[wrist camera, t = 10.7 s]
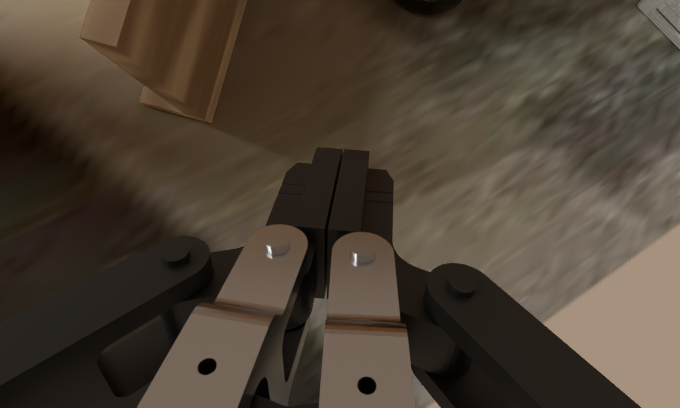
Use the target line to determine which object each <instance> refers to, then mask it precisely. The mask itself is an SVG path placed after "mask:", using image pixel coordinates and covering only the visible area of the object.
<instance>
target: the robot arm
mask: <svg viewBox="0 0 680 408" xmlns="http://www.w3.org/2000/svg"><path fill="white" fill-rule="evenodd" d="M368 163H369V151H359V150H347V149H344V152H343V150H342V149H333V148H320V147H317V149H316V152H315V155H314V158H313V161H312V164H306V163H297V164H296V165H294V166H293V167H292V168H291V169H290V170H289V171H287V172H286V175H285V178H284V180H283V183H282V186H281V188H280V190H279V195H278V196H277V198H276V201H275V203H274V206H273V208H272V211H271V214H270V216H269V219H268V221H267V224H266V227H263V228H261V229H259V230H257V231H256V232H254V233H253V234H252V235H251V236H250V237H249V239H248V240H247V242H246V244H245V246H243V247H240V248H237V249H232V250H225V251H218V252H211V253H210V251H209V248H208V246H207V244H206V243H205V242H203V241H202V240H200V239H198V238H194V237H189V236H181V237H174V238H170V239H167V240H165V241H162V242H160V243H158V244H156V245H154V246H152V247H150V248H148V249H146V250H144V251H142V252H140V253H138V254H136V255H134V256H132V257H130V258H128V259H126V260H124V261H122V262H120V263H118V264H116V265H114V266H112V267H110V268H108V269H106V270H104V271H102V272H100V273H98V274H96V275H94V276H92V277H90V278H88V279H86V280H84V281H82V282H80V283H78V284H76V285H74V286H72V287H70V288H68V289H66V290H64V291H62V292H60V293H58V294H56V295H54V296H52V297H50V298H48V299H46V300H44V301H42V302H40V303H38V304H36V305H34V306H32V307H30V308H28V309H26V310H24V311H22V312H20V313H18V314H16V315H14V316H12V317H10V318H8V319H6V320H4V321H2V322H0V408H415V399H414V390H413V381H412V371H413V373H414V374H415V376H416V377H417V379H418V380H419V381H420V382H421V384H422V385H423V386H424V387H425V389H426V390H427V391H428V392H429V394H430V395H431V396H432V397H433V398H434V400H435V401H436V402H437V403H438V405H439V406H440V407H441V408H641V407H640V406H639V405H638V404H636V403H635V402H634V401H633V400H632V399H630V398H629V397H628V396H627V395H626V394H625V393H623V392H622V391H621V390H620V389H619V388H617V387H616V386H615V385H614V384H613V383H611V382H610V381H609V380H608V379H607V378H606V377H605V376H603V375H602V374H601V373H600V372H599V371H597V370H596V369H595V368H594V367H593V366H592V365H590V364H589V363H588V362H587V361H586V360H585V359H583V358H582V357H581V356H580V355H579V354H577V353H576V352H575V351H574V350H573V349H571V348H570V347H569V346H568V345H567V344H566V343H564V342H563V341H562V340H561V339H560V338H559V337H557V336H556V335H555V334H554V333H553V332H552V331H550V330H549V329H548V328H547V327H546V326H544V325H543V324H542V323H541V322H540V321H539V320H537V319H536V318H535V317H534V316H533V315H532V314H530V313H529V312H528V311H527V310H526V309H524V308H523V307H522V306H521V305H520V304H519V303H517V302H516V301H515V300H514V299H513V298H511V297H510V296H509V295H508V294H507V293H506V292H504V291H503V290H502V289H501V288H500V287H499V286H497V285H496V284H495V283H494V282H493V281H491V280H490V279H489V278H488V277H487V276H486V275H484V274H483V273H482V272H480V271H479V270H477V269H475V268H473V267H470V266H467V265H464V264H458V263H449V264H443V265H440V266H438V267H436V268H435V269H433V270H432V271H431V272H428V271H425V270H422V269H420V268H417V267H414V266H412V265H410V264H409V263H407V262H405V261H404V260H403V259H402V258H401V257H399V255H398V254H397V253H396V251H395V249H394V247H393V243H392V229H393V180H392V178H391V176H390V175H389V173H388V172H387V170H380V169H368ZM326 286H327V299H328V311H327V319H326V323H325V334H324V347H323V360H322V373H321V386H320V399H319V403H315V404H308V405H301V406H292V407H289V406H288V398H289V393H290V389H291V385H292V382H293V378H294V375H295V372H296V368H297V365H298V362H299V358H300V355H301V351H302V348H303V345H304V341H305V338H306V335H307V331H308V328H309V324H310V314H311V311H312V307H313V302H314V298H323V299H324V297H325V291H326ZM158 315H160V316H161V319H160V320H159V321H157V322H156V323H154V324H152V325H151V326H149V327H147V328H146V329H144V330H142V331H141V332H139V333H138V334H136V335H134V336H133V337H131V338H129V339H128V340H126V341H124V342H123V343H121V344H120V345H118V346H116V347H115V348H113V349H111V350H110V351H108V352H106V353H104V354H101V352H102V351H103V350H104V349H105V348H106V347H107V346H109V345H110V344H112V343H113V342H115V341H117V340H118V339H120V338H122V337H123V336H125V335H127V334H128V333H130V332H132V331H133V330H135V329H137V328H138V327H140V326H142V325H143V324H145V323H146V322H148V321H150V320H151V319H153V318H155V317H156V316H158ZM100 354H101V355H100ZM411 368H412V371H411Z"/></svg>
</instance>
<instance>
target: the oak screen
mask: <svg viewBox="0 0 680 408" xmlns="http://www.w3.org/2000/svg"><path fill="white" fill-rule="evenodd" d="M246 3H247V0H91V1H90V4H89V8H88V11H87V14H86V17H85V21H84V24H83V27H82V30H81V33H80V38H81V39H83V40H84V41H85V42H87V43H88V44H89V45H91V46H92V47H94V48H95V49H96V50H98V51H99V52H100V53H102V54H103V55H104V56H106V57H107V58H108V59H110V60H111V61H113V62H114V63H115V64H117V65H118V66H119V67H121V68H122V69H123V70H125V71H126V72H127V73H129V74H130V75H132V76H133V77H134V78H136V79H137V80H138V81H140V82H141V83H142V84H144V86H143V90H142V93H141V96H140V100H139V102H140V103H142V104H143V105H145V106H148V107H152V108H156V109H160V110H163V111H167V112H171V113H175V114H178V115H182V116H186V117H190V118H193V119H197V120H201V121H204V122H208V123H212V121H213V118H214V114H215V111H216V107H217V104H218V100H219V97H220V93H221V90H222V86H223V83H224V80H225V76H226V73H227V69H228V66H229V62H230V59H231V55H232V52H233V48H234V45H235V41H236V38H237V34H238V31H239V28H240V24H241V21H242V17H243V14H244V10H245V7H246Z"/></svg>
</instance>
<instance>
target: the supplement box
mask: <svg viewBox="0 0 680 408" xmlns="http://www.w3.org/2000/svg"><path fill="white" fill-rule="evenodd" d="M638 8H639V9H640V10H641V11H642V12H643V13H644V14H645V15H646V16H647V17H648V18H649V19H650V20H651V21H652V22H653V23H654V24H655V25H656V26H657V27H658V28H659V29H660V30H661V31H662V32H663V33H664V34H665V35H666V36H667V37H668V38H669V39H670V40H671V41H672V42H673V43H674V44H675V45H676V46H677V47H678V48H679V49H680V0H641V1H640V2H639V3H638Z"/></svg>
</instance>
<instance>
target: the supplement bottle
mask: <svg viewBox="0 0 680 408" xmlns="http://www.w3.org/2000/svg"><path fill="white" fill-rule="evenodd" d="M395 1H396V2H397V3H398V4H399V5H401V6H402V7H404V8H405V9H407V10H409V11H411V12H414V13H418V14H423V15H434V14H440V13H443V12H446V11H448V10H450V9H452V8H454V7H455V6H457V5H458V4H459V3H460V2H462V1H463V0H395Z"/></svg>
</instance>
